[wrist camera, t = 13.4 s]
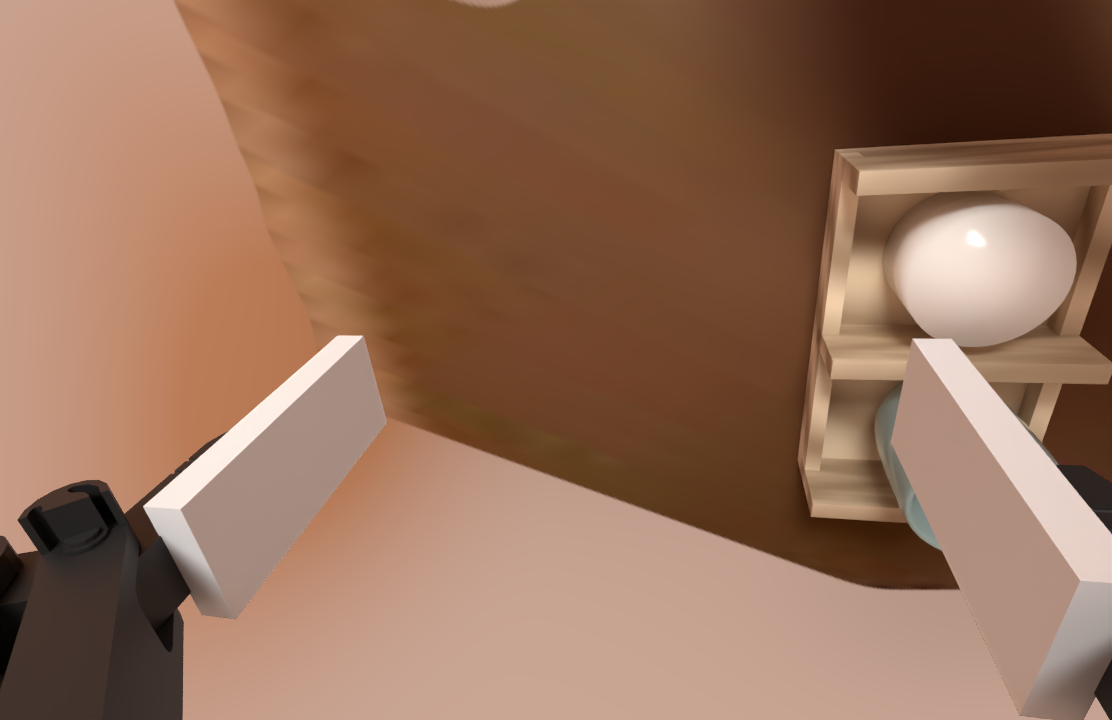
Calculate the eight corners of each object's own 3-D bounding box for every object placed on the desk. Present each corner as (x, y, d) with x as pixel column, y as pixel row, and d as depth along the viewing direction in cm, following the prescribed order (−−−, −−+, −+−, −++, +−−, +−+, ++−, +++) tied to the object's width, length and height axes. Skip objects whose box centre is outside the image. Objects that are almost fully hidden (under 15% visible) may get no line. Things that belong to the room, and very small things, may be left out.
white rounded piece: (893, 189, 35) (922, 212, 30) (1046, 182, 33) (1098, 206, 29) (873, 310, 38) (896, 346, 34) (1009, 309, 37) (1051, 347, 32)
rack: (834, 149, 35) (859, 171, 30) (1115, 133, 32) (1198, 154, 27) (797, 459, 46) (811, 516, 41) (1005, 469, 43) (1049, 532, 38)
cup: (925, 469, 43) (982, 580, 34) (836, 414, 42) (873, 513, 34) (1020, 395, 39) (1112, 499, 30) (925, 332, 38) (992, 421, 30)
